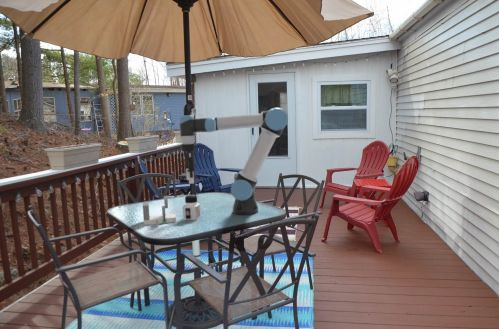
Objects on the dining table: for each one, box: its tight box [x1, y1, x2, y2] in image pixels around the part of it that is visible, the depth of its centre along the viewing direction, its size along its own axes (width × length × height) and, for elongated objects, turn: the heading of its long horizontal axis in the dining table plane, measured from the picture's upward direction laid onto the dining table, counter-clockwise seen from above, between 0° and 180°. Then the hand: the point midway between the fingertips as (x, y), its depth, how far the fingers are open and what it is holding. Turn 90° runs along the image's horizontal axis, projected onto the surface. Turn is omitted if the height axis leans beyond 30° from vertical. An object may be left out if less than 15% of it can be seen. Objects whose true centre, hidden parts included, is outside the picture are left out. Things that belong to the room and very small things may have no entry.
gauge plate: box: [161, 195, 169, 222], centre depth 208 cm, size 3×10×12 cm, turn 15°
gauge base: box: [142, 201, 177, 226], centre depth 208 cm, size 17×9×10 cm, turn 105°
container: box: [182, 194, 201, 221], centre depth 212 cm, size 8×8×13 cm
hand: (190, 181), depth 210 cm, fingers open, 13 cm apart
